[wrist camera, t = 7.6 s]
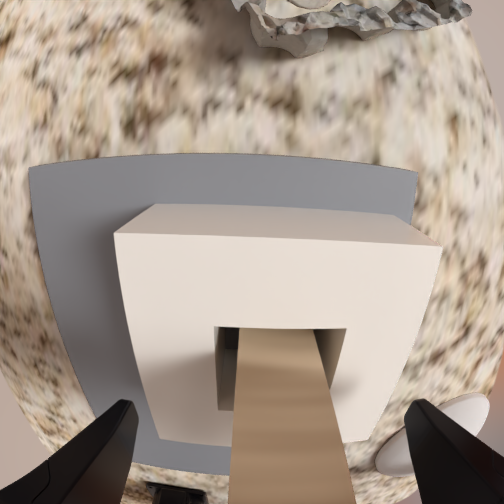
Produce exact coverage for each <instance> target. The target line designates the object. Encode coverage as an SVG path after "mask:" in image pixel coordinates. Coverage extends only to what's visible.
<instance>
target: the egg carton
mask: <svg viewBox="0 0 504 504" xmlns="http://www.w3.org/2000/svg"><path fill="white" fill-rule="evenodd" d="M231 1H232V3H233V5H234V7H235V8H236V10H237V12H240V11H241V10H242V9H243V8H246V9H247V11H248V12H249V14H250V17H251V21H250V27H251V32H252V35H253V37H254V39H255V40H256V43H257V44H258V46H259V47H278V48H282V49H284V50H286V51H288V52H290V53H291V54H292V55H293V56H294V57H296V58H303V57H307V56H310V55H313V54H315V53H317V52H321V51H324V50H323V47H324V45H325V44H326V43H327V40H328V28H330V27H334V26H339V27H344V28H348V29H350V30H352V31H354V32H355V33H356V34H358V35H359V36H360V37H361V39H362V40H363V41H365V40H368V39H371V38H373V37H376V36H379V35H382V34H386V33H389V32H390V31H391V30H393V29H405V30H422V31H424V30H428V29H430V28H432V27H434V26H438V25H443V24H447V23H450V22H454V23H456V22H458V21H460V20H461V19H462V18H465V17H468V16H470V15H471V12H472V9H471V7H470V6H469V5H468V4H465V3H463V2H462V0H431V1H432V2H433V4H434V6H435V7H436V9H435V10H434V11H433V10H431V8H430V7H429V6H428V5H427V4H425V3H421V2H418V1H417V0H402V1H401V2H400V3H399V4H398V5H397V6H396V7H394V8H393V9H392V10H391V11H390V12H388V13H387V14H386V13H385V12H384V11H383V10H382V9H380V8H378V7H377V6H375V7H372V8H370V9H366V8H364V7H362V6H359V5H356V4H351V5H346V6H345V5H344V4H343V3H342V2H340V3H339V4H337V5H336V6H335V7H334V8H333V9H332V10H331V11H330V12H324V11H320V12H311V13H307V14H303V15H299V16H296V17H293V18H286V19H278V18H273V17H272V16H270V15H268V14H266V13H265V7H266V0H231ZM288 1H289V2H291V3H293V4H294V5H296V6H298V7H301V8H305V9H319V8H321V7H324V6H325V5H327V4H328V3H329V2H330V0H288Z"/></svg>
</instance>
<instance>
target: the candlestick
mask: <svg viewBox="0 0 504 504" xmlns="http://www.w3.org/2000/svg"><path fill="white" fill-rule="evenodd" d="M436 408H438V409H439V410H440V411H442V412H443V413H444V414H446V415H447V416H448V417H450V418H451V419H452V420H454V421H455V422H456V423H458V424H459V425H460V426H462V427H463V428H465V429H466V430H467V431H469V432H470V433H471V434H473V435H474V436H476V435H477V433H478V432H479V431H480V429H481V428H482V426H483V424H484V422H485V419H486V417H487V415H488V411H489V402H488V399H487V398H486V397H485V395H483V394H481V393H469V394H465V395H462V396H459V397H456V398H454V399H451V400H449V401H447V402H445V403H443V404H441V405H439V406H437V407H436ZM375 464H376V468H377V470H378V471H379V472H380V473H381V474H384V475H387V476H393V477H404V476H411V475H415V472H414V469H413V465H412V461H411V457H410V452H409V446H408V440H407V435H406V429H405V427H404V428H403V429H402V430H400V431H399V432H398V433H397V434H395V435H394V436H393V437H392V438H391V439H390V440H389V441H388V442H387V443H386V444H385V445H384V446H383V447H382V448H381V450H380V451H379V452H378V454H377V456H376V459H375Z"/></svg>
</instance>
